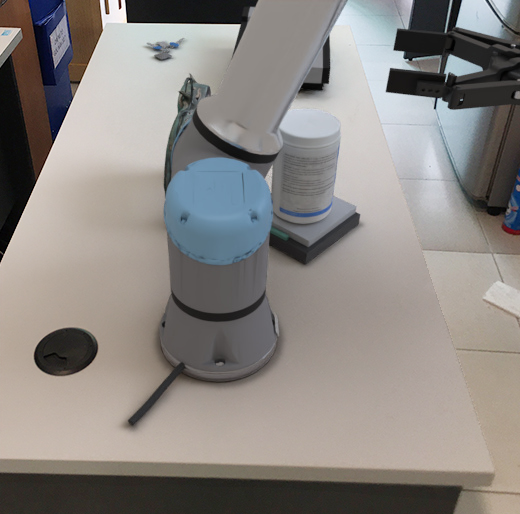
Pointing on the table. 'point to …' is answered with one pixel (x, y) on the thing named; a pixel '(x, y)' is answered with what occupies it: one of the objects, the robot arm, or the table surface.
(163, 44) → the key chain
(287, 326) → the table surface
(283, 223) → the scale
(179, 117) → the camouflage fabric bag
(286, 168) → the supplement tub
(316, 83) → the game console
